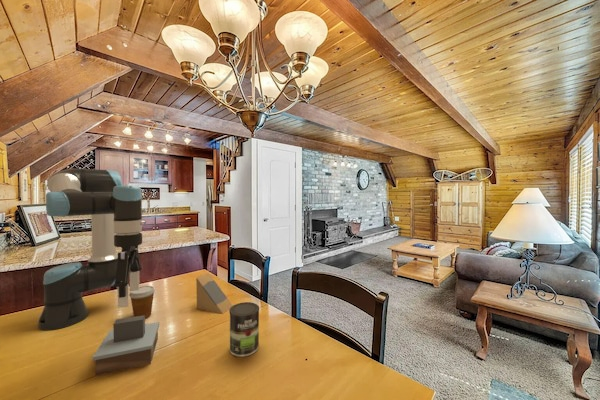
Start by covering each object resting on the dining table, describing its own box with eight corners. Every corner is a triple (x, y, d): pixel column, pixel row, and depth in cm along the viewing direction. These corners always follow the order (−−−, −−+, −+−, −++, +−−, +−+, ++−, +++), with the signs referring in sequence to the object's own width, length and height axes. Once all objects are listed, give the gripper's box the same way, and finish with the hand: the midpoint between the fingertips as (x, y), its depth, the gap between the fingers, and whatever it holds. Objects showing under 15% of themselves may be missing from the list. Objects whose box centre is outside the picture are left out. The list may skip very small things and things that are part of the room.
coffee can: (263, 351, 85) (263, 311, 85) (232, 360, 80) (232, 318, 80) (254, 335, 94) (254, 299, 94) (226, 343, 89) (226, 305, 89)
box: (111, 350, 85) (111, 333, 85) (157, 341, 90) (157, 325, 90) (95, 379, 72) (95, 359, 72) (150, 366, 77) (150, 348, 77)
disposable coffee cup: (124, 319, 106) (124, 291, 105) (145, 309, 114) (145, 284, 114) (139, 324, 102) (139, 295, 102) (160, 313, 111) (160, 287, 110)
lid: (110, 332, 85) (109, 313, 85) (159, 324, 91) (159, 305, 90) (92, 360, 71) (91, 337, 71) (152, 348, 77) (151, 326, 77)
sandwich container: (223, 314, 111) (223, 281, 110) (196, 308, 116) (195, 277, 115) (234, 306, 119) (234, 275, 118) (208, 301, 124) (208, 271, 123)
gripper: (132, 239, 70) (133, 312, 70) (149, 227, 93) (150, 283, 93) (99, 240, 67) (101, 317, 67) (125, 228, 90) (126, 286, 90)
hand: (129, 298), depth 80 cm, fingers open, 13 cm apart
